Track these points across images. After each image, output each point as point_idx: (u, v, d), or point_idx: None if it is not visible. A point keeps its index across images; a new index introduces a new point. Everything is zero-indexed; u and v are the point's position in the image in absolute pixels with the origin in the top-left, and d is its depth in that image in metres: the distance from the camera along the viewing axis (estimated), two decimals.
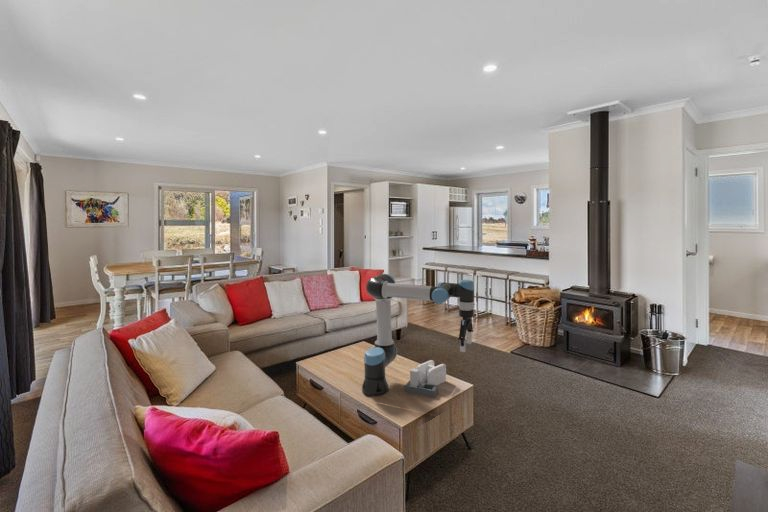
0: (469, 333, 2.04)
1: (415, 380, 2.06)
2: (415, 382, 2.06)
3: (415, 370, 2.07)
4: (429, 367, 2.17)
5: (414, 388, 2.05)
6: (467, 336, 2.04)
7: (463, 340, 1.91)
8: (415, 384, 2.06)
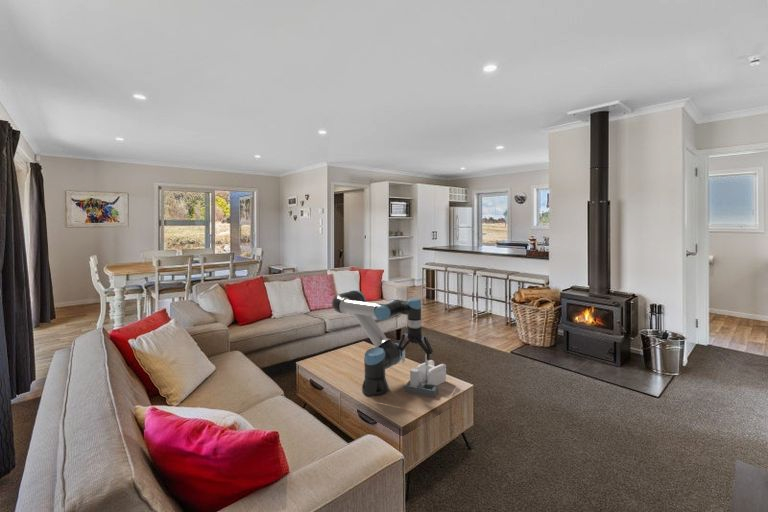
0: None
1: (415, 380, 2.06)
2: (415, 382, 2.06)
3: (415, 370, 2.07)
4: (429, 367, 2.17)
5: (414, 388, 2.05)
6: None
7: (400, 350, 2.09)
8: (415, 384, 2.06)
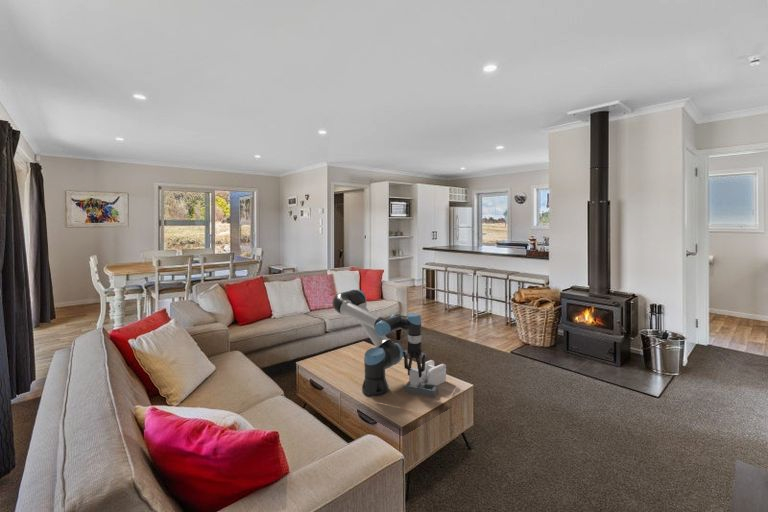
0: None
1: (415, 380, 2.06)
2: (415, 382, 2.06)
3: (415, 370, 2.07)
4: (429, 367, 2.17)
5: (414, 388, 2.05)
6: None
7: (408, 370, 2.08)
8: (415, 384, 2.06)
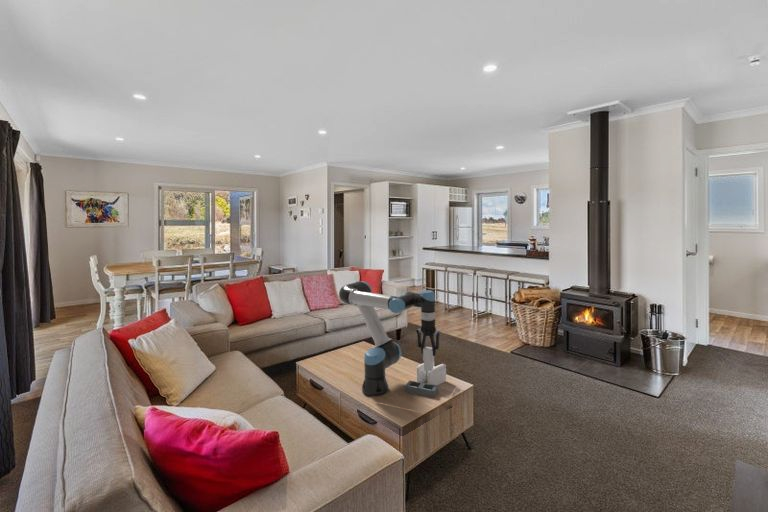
0: None
1: (429, 358, 2.01)
2: (429, 360, 2.01)
3: (429, 348, 2.02)
4: None
5: (414, 388, 2.05)
6: None
7: (422, 348, 2.03)
8: (429, 363, 2.01)
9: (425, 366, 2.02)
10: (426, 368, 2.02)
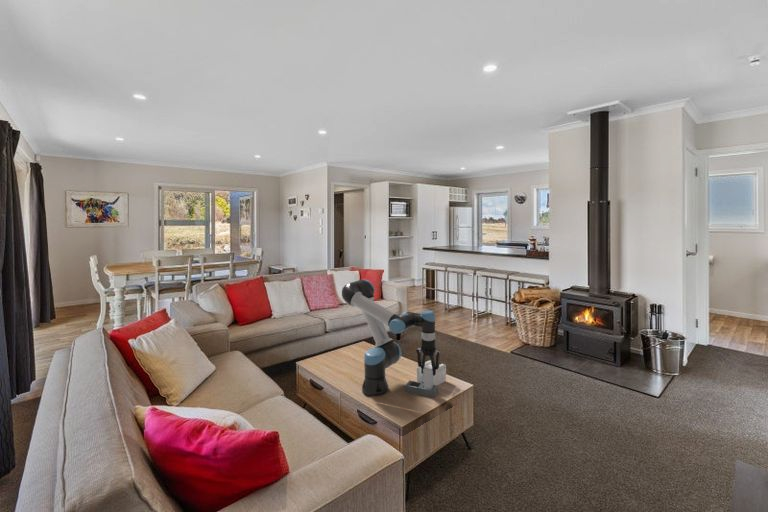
0: None
1: (429, 378, 2.02)
2: (429, 380, 2.02)
3: (429, 368, 2.03)
4: None
5: (414, 388, 2.05)
6: None
7: (422, 368, 2.04)
8: (429, 382, 2.02)
9: (425, 386, 2.03)
10: (426, 388, 2.03)
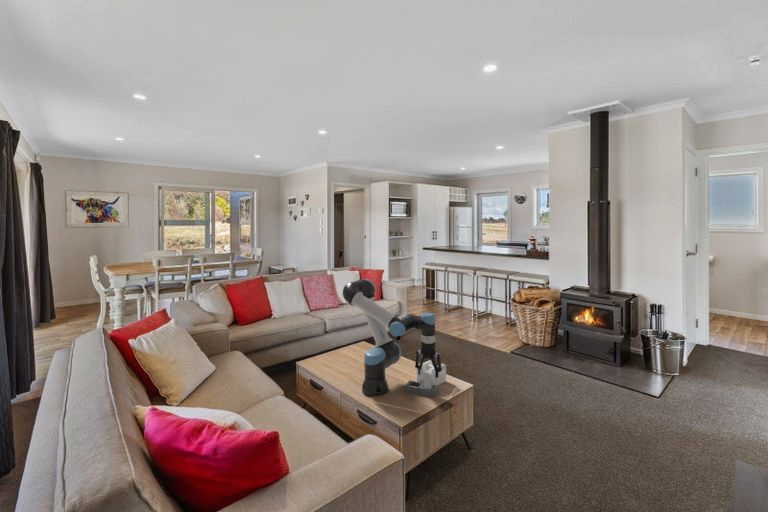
0: None
1: (429, 383, 2.02)
2: (429, 385, 2.02)
3: (429, 372, 2.03)
4: (429, 367, 2.17)
5: (414, 388, 2.05)
6: None
7: (419, 369, 2.05)
8: (429, 387, 2.03)
9: None
10: None
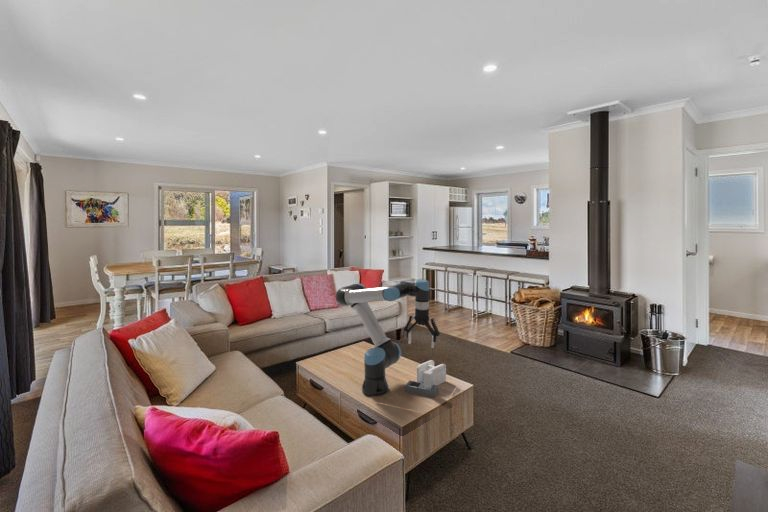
0: None
1: (429, 383, 2.02)
2: (429, 385, 2.02)
3: (429, 372, 2.03)
4: (429, 367, 2.17)
5: (414, 388, 2.05)
6: None
7: (407, 332, 2.07)
8: (429, 387, 2.03)
9: None
10: None
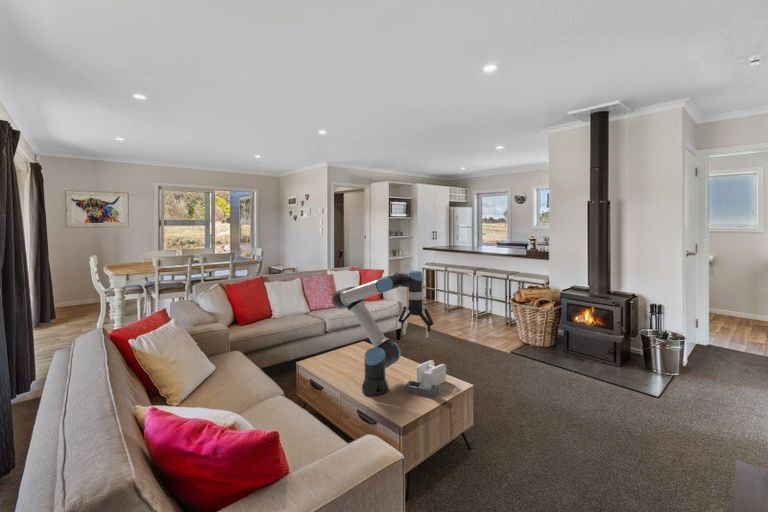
0: None
1: (429, 383, 2.02)
2: (429, 385, 2.02)
3: (429, 372, 2.03)
4: (429, 367, 2.17)
5: (414, 388, 2.05)
6: None
7: (401, 323, 2.09)
8: (429, 387, 2.03)
9: None
10: None
